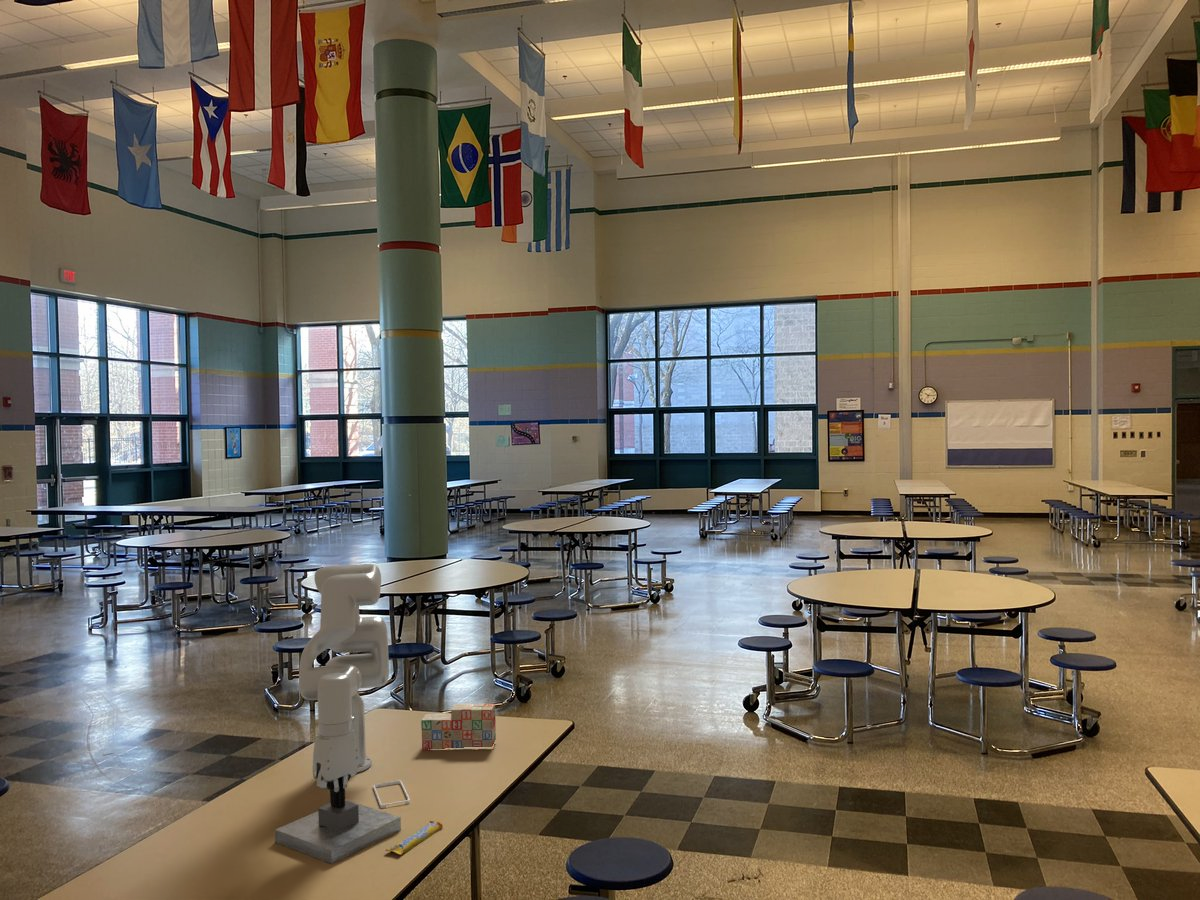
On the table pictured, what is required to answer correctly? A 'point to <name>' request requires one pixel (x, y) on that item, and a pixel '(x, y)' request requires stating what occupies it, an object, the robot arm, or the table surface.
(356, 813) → the plug
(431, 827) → the candy bar
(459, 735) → the stack of blocks
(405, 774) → the table surface
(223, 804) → the table surface
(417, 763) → the table surface
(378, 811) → the socket plate
